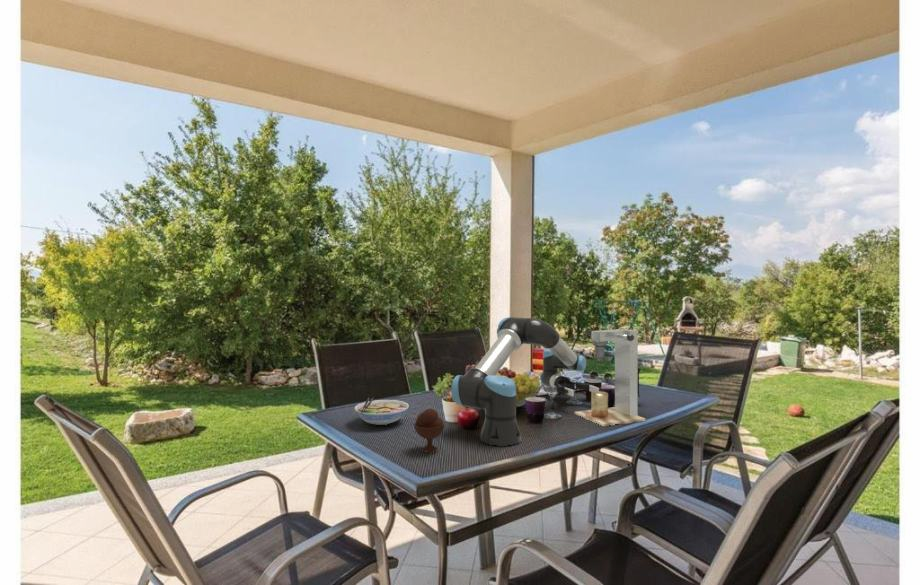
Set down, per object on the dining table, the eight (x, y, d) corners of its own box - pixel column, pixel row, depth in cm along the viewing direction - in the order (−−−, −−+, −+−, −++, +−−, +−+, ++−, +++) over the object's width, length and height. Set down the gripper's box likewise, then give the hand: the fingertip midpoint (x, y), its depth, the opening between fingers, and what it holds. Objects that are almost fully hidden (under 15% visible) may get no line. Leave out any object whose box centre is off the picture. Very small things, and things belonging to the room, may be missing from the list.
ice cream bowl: (451, 449, 165) (451, 407, 165) (429, 458, 157) (428, 413, 157) (430, 442, 172) (430, 402, 172) (407, 450, 164) (407, 408, 164)
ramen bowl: (405, 432, 184) (405, 412, 184) (348, 433, 184) (347, 412, 184) (411, 415, 209) (411, 396, 209) (361, 415, 209) (360, 397, 209)
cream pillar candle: (597, 418, 198) (597, 395, 197) (588, 414, 204) (587, 392, 204) (611, 417, 200) (611, 394, 200) (601, 413, 207) (601, 390, 206)
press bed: (602, 426, 191) (602, 423, 191) (574, 414, 209) (574, 411, 209) (645, 420, 198) (645, 418, 198) (615, 409, 217) (615, 406, 217)
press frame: (611, 424, 190) (611, 334, 190) (587, 413, 206) (587, 330, 205) (648, 419, 197) (648, 332, 196) (622, 409, 212) (622, 328, 212)
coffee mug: (600, 398, 237) (600, 379, 237) (603, 403, 229) (603, 382, 228) (576, 398, 238) (576, 378, 238) (579, 402, 230) (579, 382, 230)
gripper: (581, 388, 235) (608, 398, 215) (538, 392, 227) (562, 402, 207) (581, 374, 235) (608, 382, 215) (538, 377, 227) (562, 385, 207)
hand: (585, 392), depth 211 cm, fingers open, 13 cm apart
